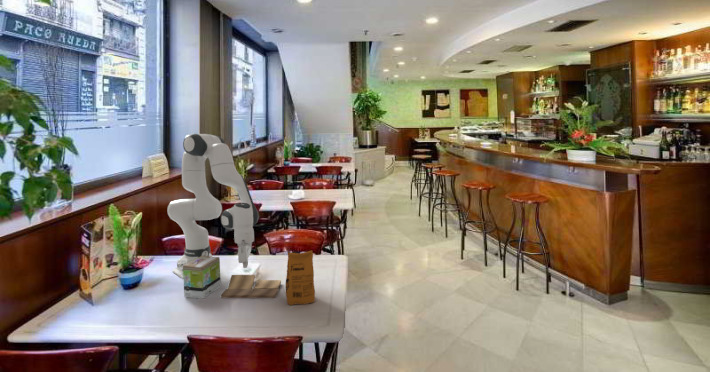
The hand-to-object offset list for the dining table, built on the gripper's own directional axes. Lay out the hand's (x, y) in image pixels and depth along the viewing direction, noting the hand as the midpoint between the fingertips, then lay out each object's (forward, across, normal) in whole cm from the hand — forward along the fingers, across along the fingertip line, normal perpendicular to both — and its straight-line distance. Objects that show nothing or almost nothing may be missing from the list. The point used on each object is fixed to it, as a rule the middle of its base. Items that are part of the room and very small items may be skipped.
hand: (245, 266), depth 198 cm
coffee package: (+10, -20, -25) cm, 34 cm away
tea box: (+10, -3, +19) cm, 22 cm away
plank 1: (+7, -1, +2) cm, 8 cm away
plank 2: (+9, -3, -10) cm, 14 cm away
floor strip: (+10, -10, -3) cm, 14 cm away
